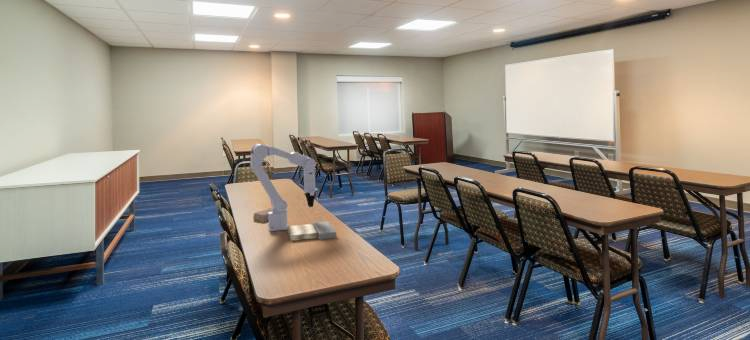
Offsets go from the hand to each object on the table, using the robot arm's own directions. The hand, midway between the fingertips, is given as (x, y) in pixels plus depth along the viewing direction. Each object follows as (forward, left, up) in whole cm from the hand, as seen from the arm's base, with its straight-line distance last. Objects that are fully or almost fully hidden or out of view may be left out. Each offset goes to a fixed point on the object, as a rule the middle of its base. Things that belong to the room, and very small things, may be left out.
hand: (310, 206), depth 221 cm
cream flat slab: (-7, -17, -9) cm, 21 cm away
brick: (-20, +22, -10) cm, 31 cm away
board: (+3, -17, -9) cm, 20 cm away
